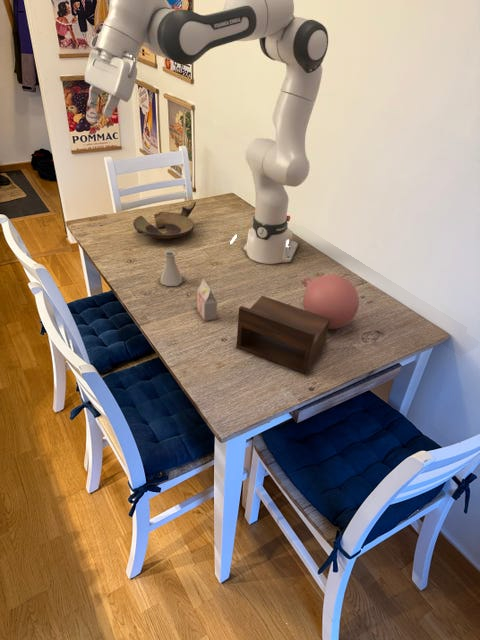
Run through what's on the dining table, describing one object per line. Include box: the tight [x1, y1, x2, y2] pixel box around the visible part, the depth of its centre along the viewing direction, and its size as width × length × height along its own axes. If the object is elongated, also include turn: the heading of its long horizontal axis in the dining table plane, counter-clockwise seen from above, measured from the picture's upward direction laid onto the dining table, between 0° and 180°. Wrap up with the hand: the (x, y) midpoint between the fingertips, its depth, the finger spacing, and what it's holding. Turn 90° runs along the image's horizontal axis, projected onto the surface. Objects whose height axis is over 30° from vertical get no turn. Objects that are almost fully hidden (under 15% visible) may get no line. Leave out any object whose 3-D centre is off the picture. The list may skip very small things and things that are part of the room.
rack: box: [235, 295, 330, 376], centre depth 114 cm, size 14×20×13 cm
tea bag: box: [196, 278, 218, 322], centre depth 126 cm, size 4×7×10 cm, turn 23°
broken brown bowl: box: [132, 201, 197, 239], centre depth 168 cm, size 22×30×8 cm
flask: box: [160, 250, 183, 287], centre depth 139 cm, size 7×7×10 cm
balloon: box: [301, 273, 360, 330], centre depth 125 cm, size 15×20×15 cm
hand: (98, 111), depth 102 cm, fingers open, 8 cm apart
